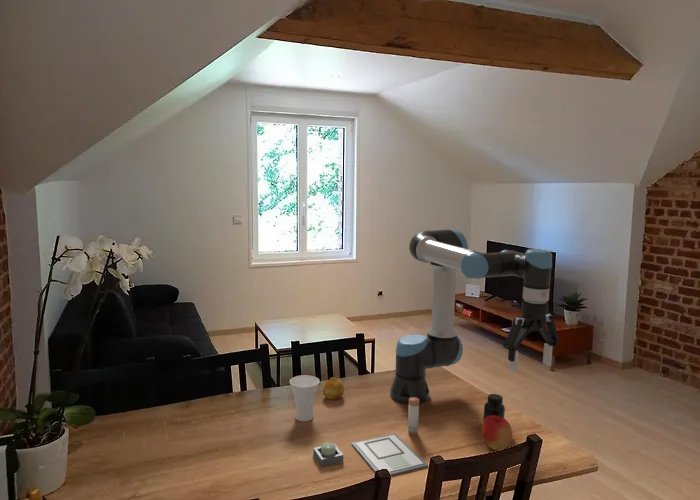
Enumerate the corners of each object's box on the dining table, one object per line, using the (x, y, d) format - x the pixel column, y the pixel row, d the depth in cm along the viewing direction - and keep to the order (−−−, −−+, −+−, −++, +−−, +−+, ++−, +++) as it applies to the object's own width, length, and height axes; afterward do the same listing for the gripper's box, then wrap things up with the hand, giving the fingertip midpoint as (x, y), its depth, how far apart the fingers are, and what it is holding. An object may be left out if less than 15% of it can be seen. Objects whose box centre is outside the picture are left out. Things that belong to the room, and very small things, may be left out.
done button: (318, 453, 159) (318, 444, 158) (332, 450, 160) (332, 441, 160) (323, 461, 155) (324, 451, 154) (337, 458, 156) (337, 448, 156)
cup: (324, 414, 186) (324, 378, 184) (309, 427, 177) (310, 389, 175) (299, 408, 191) (299, 373, 189) (283, 420, 181) (283, 383, 179)
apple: (478, 452, 163) (480, 422, 162) (482, 438, 172) (484, 409, 171) (510, 459, 160) (512, 428, 158) (512, 444, 169) (515, 415, 167)
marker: (405, 431, 175) (406, 398, 173) (414, 430, 176) (415, 396, 175) (410, 436, 172) (412, 402, 170) (419, 434, 173) (421, 400, 171)
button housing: (313, 455, 159) (313, 447, 159) (334, 450, 162) (334, 443, 162) (321, 467, 153) (321, 459, 153) (343, 462, 156) (343, 454, 156)
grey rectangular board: (351, 444, 166) (351, 441, 166) (395, 435, 173) (395, 432, 173) (380, 478, 148) (380, 475, 148) (427, 466, 155) (428, 463, 154)
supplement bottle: (504, 435, 174) (506, 402, 172) (483, 433, 175) (485, 399, 173) (502, 426, 181) (504, 393, 179) (482, 423, 182) (484, 391, 180)
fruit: (325, 384, 206) (325, 372, 201) (345, 388, 205) (346, 375, 200) (321, 402, 200) (320, 390, 195) (341, 406, 199) (342, 393, 194)
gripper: (511, 307, 148) (506, 378, 152) (575, 300, 159) (569, 366, 162) (494, 301, 155) (489, 368, 159) (556, 294, 165) (551, 358, 169)
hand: (530, 367), depth 160 cm, fingers open, 13 cm apart
